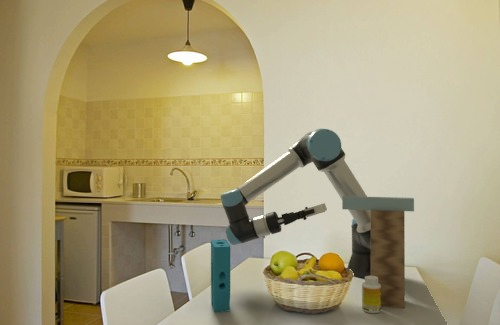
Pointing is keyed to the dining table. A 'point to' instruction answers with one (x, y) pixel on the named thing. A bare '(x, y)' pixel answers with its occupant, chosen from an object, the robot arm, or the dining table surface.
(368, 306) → the supplement bottle
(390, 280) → the walnut stand
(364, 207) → the bar
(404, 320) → the dining table surface
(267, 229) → the robot arm
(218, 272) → the block
